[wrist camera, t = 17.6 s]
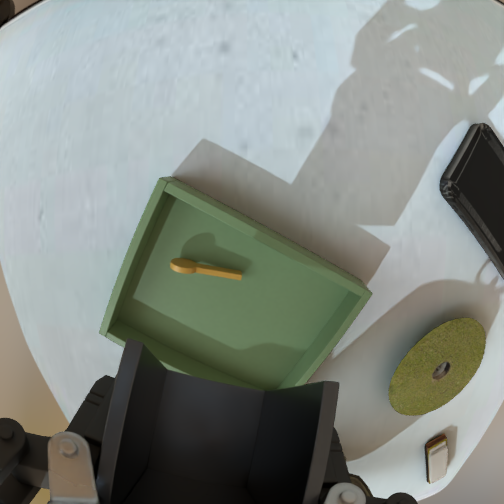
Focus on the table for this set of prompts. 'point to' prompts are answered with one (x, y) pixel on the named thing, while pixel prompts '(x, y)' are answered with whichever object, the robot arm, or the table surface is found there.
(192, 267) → the key
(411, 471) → the table surface
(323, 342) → the tray
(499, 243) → the phone
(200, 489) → the holder
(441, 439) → the harmonica
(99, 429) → the robot arm
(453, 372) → the green round disc
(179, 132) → the table surface
